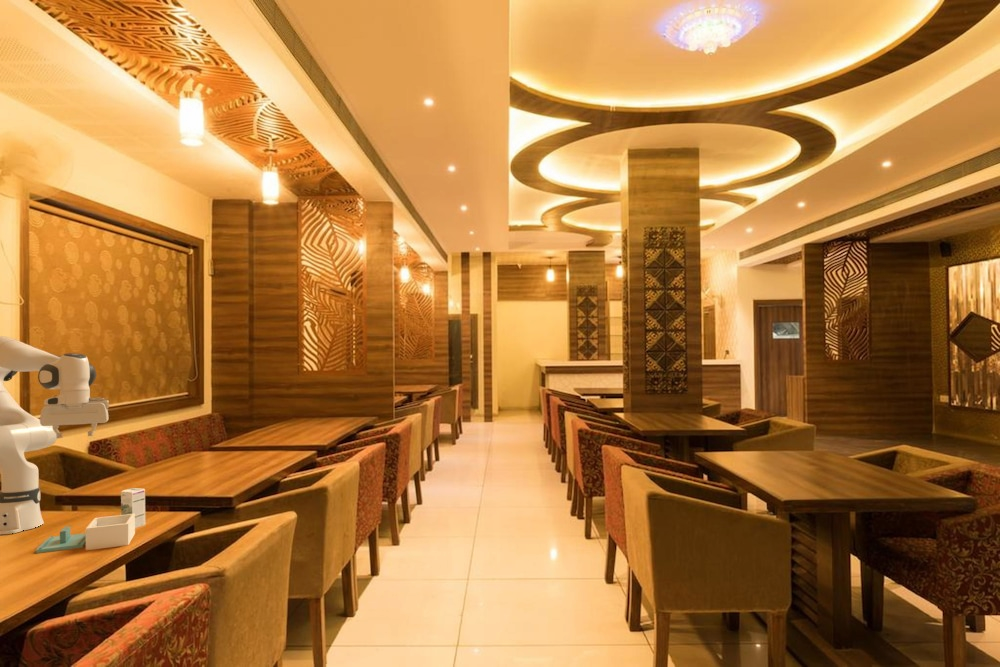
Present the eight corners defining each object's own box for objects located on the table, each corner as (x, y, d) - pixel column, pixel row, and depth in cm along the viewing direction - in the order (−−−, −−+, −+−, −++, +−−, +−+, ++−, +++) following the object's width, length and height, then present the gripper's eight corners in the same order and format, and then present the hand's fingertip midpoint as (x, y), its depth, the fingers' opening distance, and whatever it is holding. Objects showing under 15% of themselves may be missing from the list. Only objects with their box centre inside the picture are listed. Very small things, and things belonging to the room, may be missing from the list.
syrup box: (146, 527, 228) (146, 488, 229) (132, 531, 223) (131, 491, 223) (134, 526, 230) (134, 487, 230) (120, 530, 224) (120, 490, 225)
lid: (35, 557, 197) (35, 537, 197) (48, 544, 211) (48, 525, 211) (82, 551, 202) (82, 532, 202) (92, 539, 216) (92, 521, 216)
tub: (85, 553, 199) (85, 528, 200) (95, 541, 212) (95, 517, 213) (128, 547, 204) (128, 523, 204) (135, 536, 217) (134, 513, 217)
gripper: (110, 396, 227) (110, 433, 227) (43, 399, 219) (43, 438, 219) (107, 397, 222) (107, 436, 221) (38, 400, 214) (38, 440, 213)
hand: (75, 437), depth 220 cm, fingers open, 8 cm apart
